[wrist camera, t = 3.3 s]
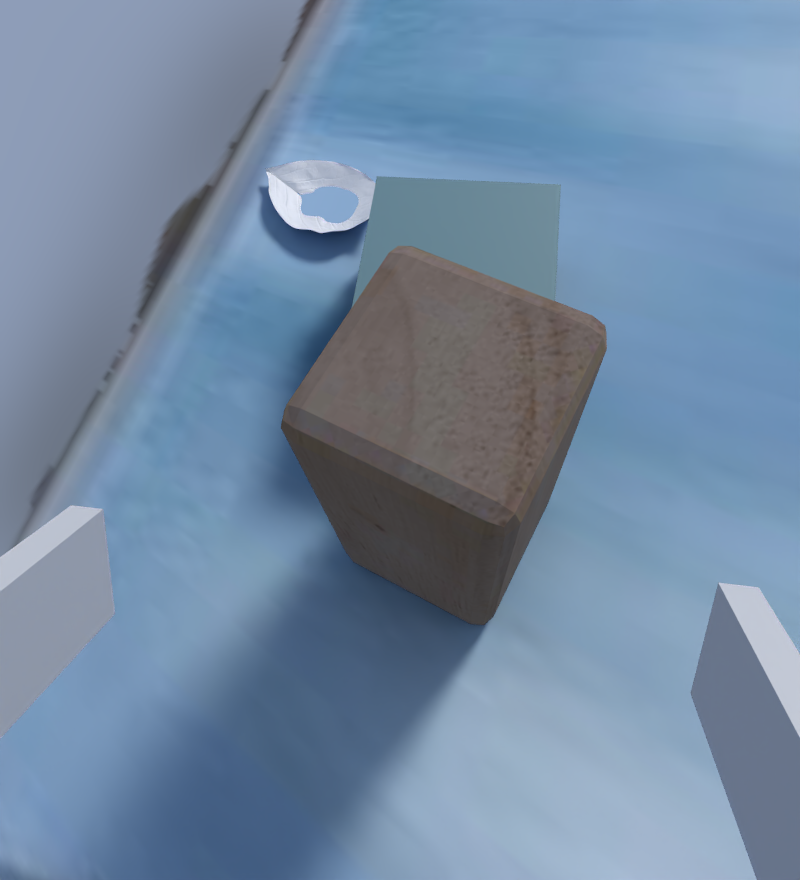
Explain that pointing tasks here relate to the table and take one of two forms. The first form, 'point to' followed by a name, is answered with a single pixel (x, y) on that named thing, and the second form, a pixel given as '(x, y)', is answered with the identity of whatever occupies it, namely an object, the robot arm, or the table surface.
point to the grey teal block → (468, 228)
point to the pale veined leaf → (310, 177)
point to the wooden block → (443, 425)
